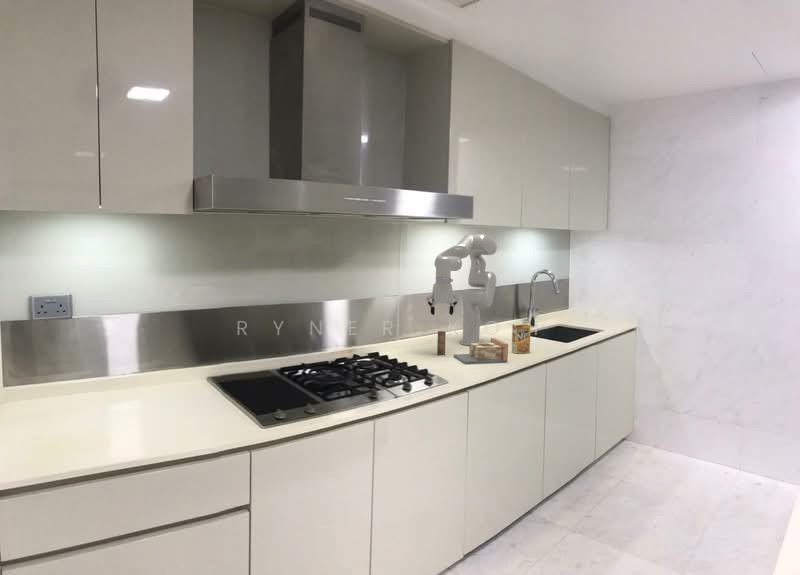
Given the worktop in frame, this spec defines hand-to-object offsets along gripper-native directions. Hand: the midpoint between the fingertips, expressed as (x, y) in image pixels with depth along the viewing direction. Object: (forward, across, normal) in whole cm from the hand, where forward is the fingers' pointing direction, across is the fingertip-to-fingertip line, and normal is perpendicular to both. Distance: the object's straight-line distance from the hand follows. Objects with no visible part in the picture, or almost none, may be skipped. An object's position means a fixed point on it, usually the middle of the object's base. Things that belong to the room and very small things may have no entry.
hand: (441, 314), depth 257 cm
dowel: (+21, 0, 0) cm, 21 cm away
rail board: (+21, -16, +13) cm, 29 cm away
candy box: (+21, -44, +1) cm, 49 cm away
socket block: (+20, -19, +13) cm, 30 cm away
